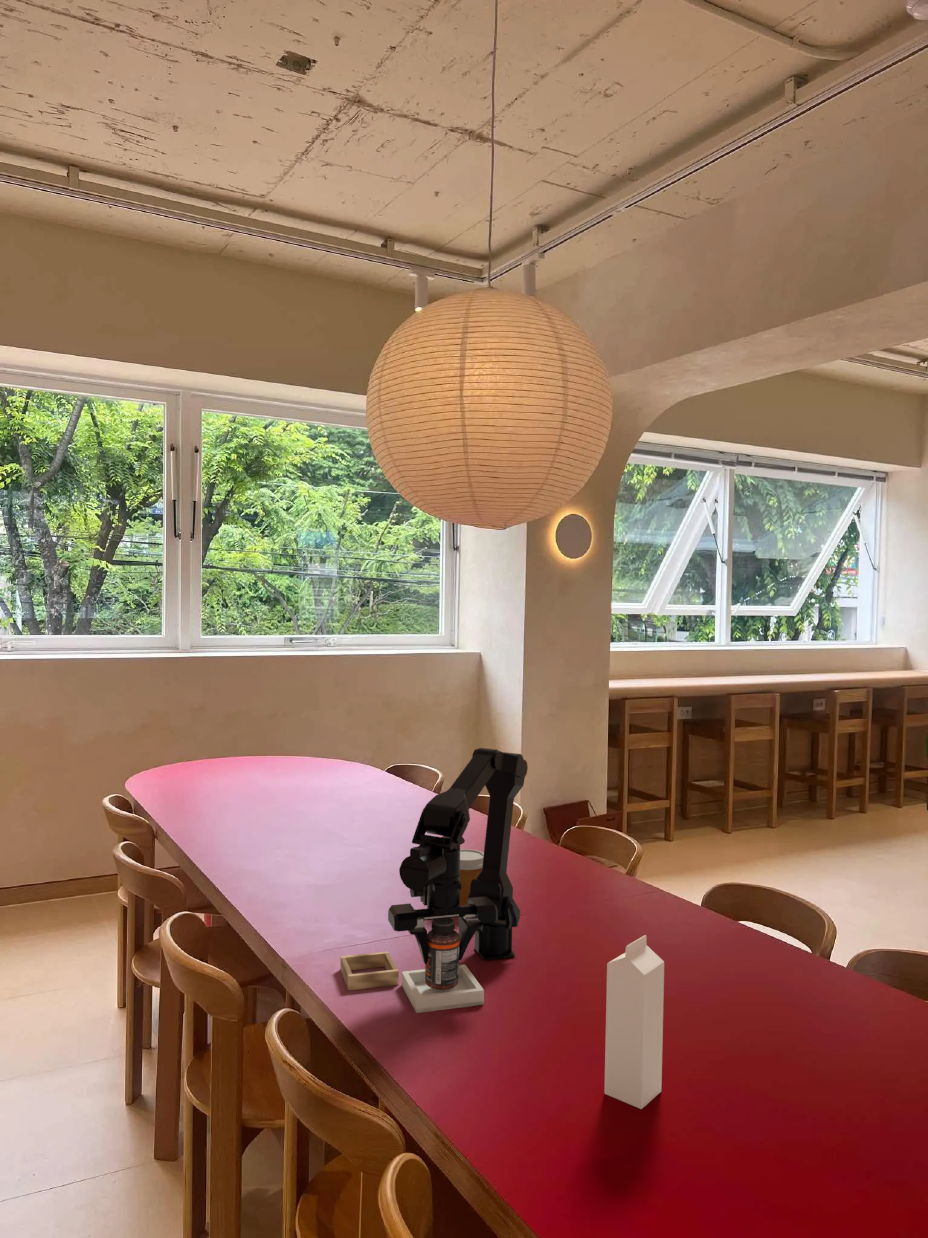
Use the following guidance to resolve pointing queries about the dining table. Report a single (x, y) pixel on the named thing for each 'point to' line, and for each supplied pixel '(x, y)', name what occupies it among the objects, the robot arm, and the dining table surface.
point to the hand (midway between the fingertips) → (442, 961)
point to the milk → (634, 1025)
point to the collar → (369, 978)
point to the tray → (442, 992)
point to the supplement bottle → (442, 955)
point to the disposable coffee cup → (469, 871)
